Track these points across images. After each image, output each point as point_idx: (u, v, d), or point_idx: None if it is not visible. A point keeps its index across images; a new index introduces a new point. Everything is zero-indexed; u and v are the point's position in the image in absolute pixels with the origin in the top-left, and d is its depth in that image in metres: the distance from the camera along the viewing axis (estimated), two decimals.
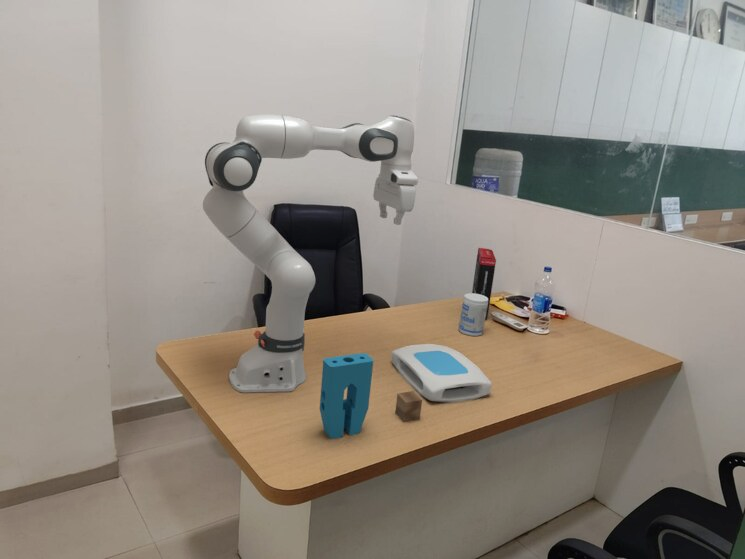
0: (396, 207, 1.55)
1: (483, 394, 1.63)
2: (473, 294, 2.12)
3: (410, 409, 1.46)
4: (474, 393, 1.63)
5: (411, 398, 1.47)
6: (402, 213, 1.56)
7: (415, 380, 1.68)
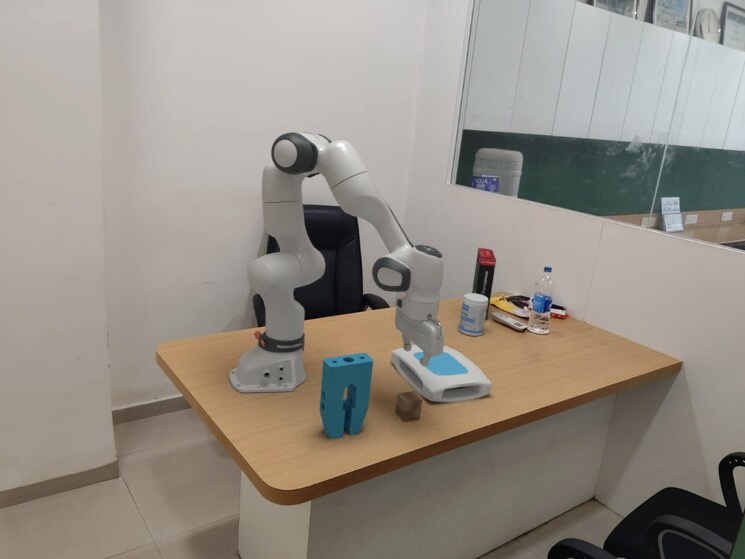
0: None
1: (483, 394, 1.63)
2: (473, 294, 2.12)
3: (410, 409, 1.46)
4: (474, 393, 1.63)
5: (411, 398, 1.47)
6: None
7: (415, 380, 1.68)
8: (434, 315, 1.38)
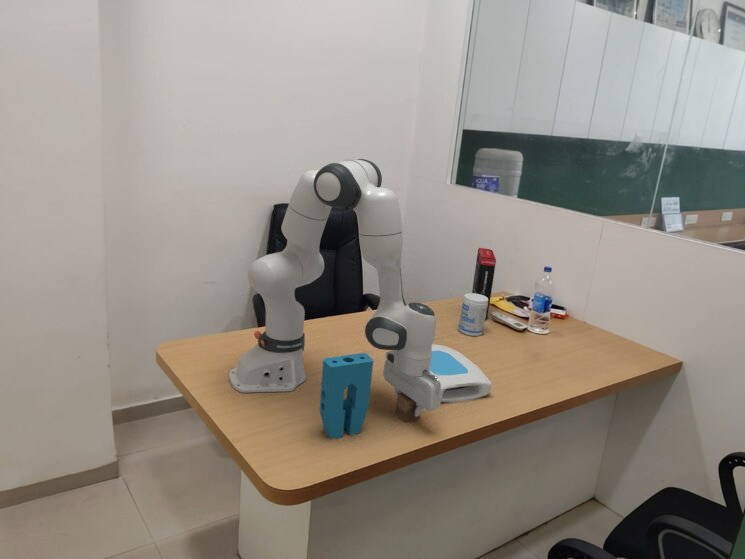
0: None
1: (483, 394, 1.63)
2: (473, 294, 2.12)
3: (410, 409, 1.46)
4: (474, 393, 1.63)
5: None
6: None
7: None
8: (428, 369, 1.43)
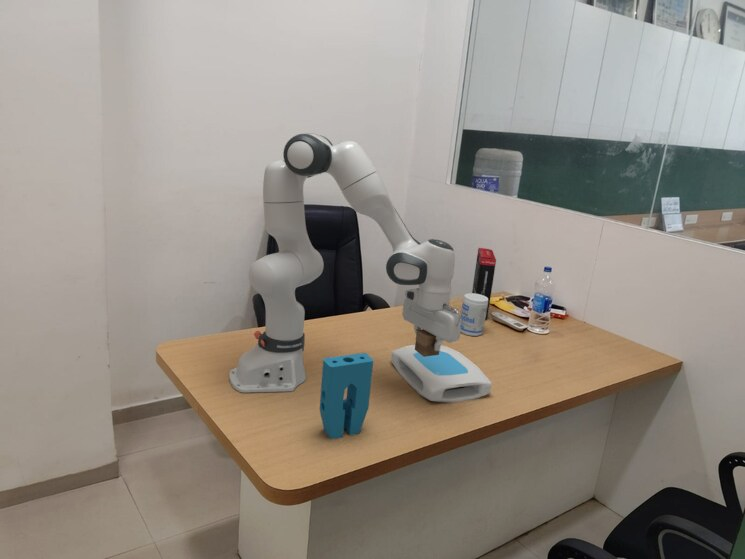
0: None
1: (483, 394, 1.63)
2: (473, 294, 2.12)
3: (430, 344, 1.50)
4: (474, 393, 1.63)
5: (430, 333, 1.52)
6: None
7: (415, 380, 1.68)
8: (447, 304, 1.48)
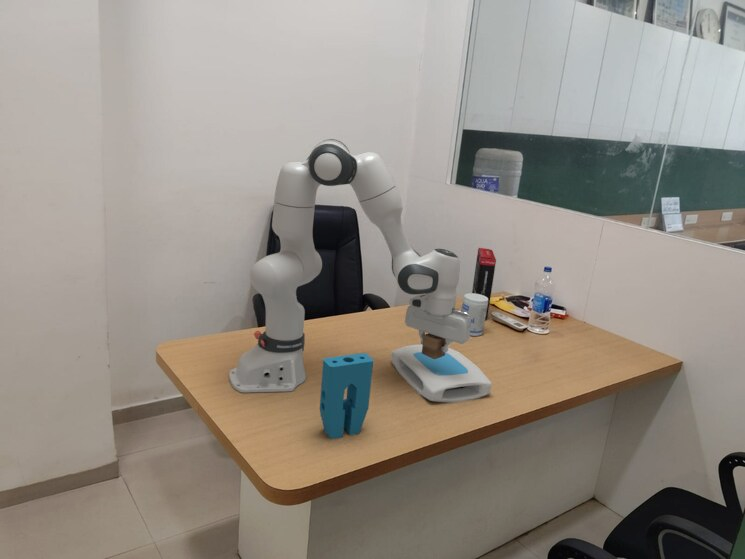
0: None
1: (483, 394, 1.63)
2: (473, 294, 2.12)
3: (439, 347, 1.60)
4: (474, 393, 1.63)
5: (437, 336, 1.61)
6: None
7: (415, 380, 1.68)
8: (454, 308, 1.58)
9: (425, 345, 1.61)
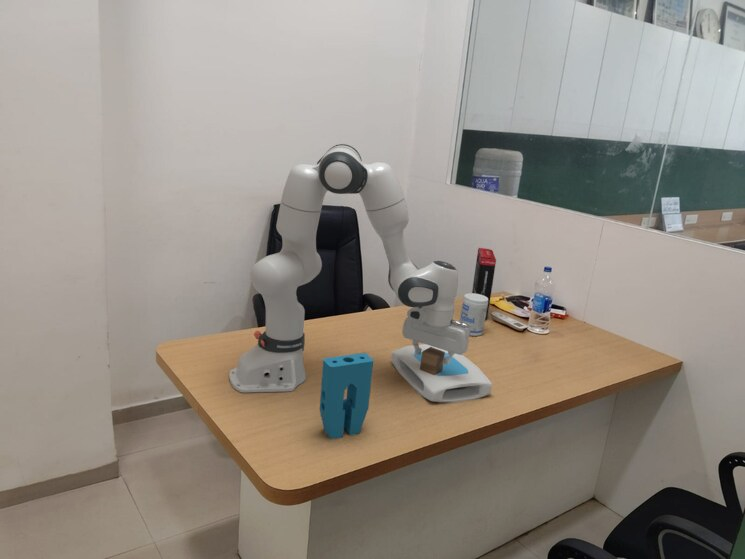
0: None
1: (483, 394, 1.63)
2: (473, 294, 2.12)
3: (438, 362, 1.62)
4: (475, 393, 1.63)
5: (436, 352, 1.63)
6: None
7: (415, 380, 1.68)
8: (452, 319, 1.59)
9: (424, 361, 1.63)
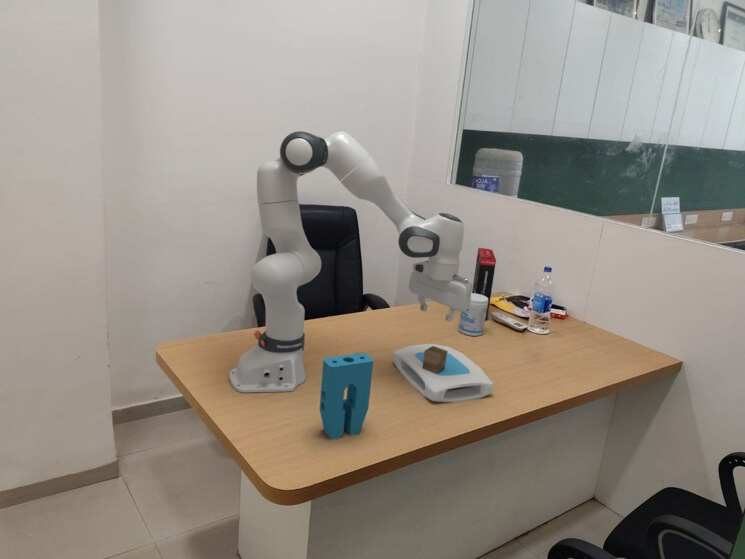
0: None
1: (485, 394, 1.63)
2: (473, 294, 2.12)
3: (440, 361, 1.63)
4: (476, 393, 1.63)
5: (438, 351, 1.64)
6: None
7: (417, 380, 1.68)
8: None
9: (426, 360, 1.64)
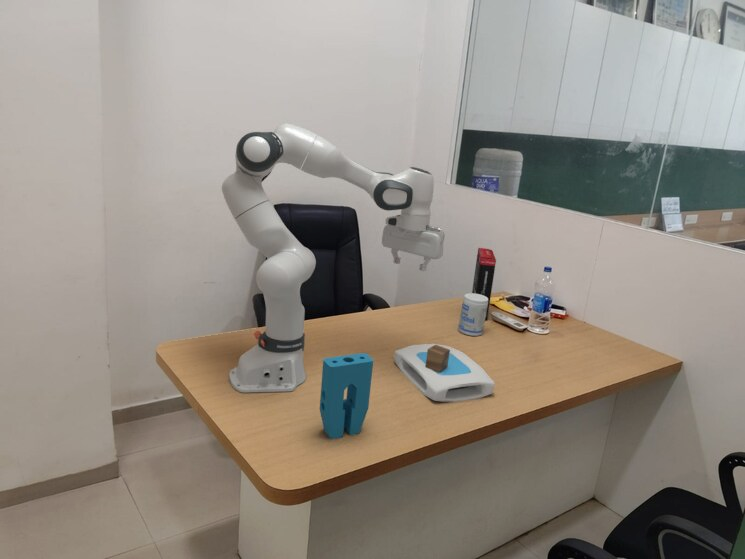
0: None
1: (486, 394, 1.63)
2: (473, 294, 2.12)
3: (443, 360, 1.64)
4: (477, 393, 1.64)
5: (441, 350, 1.65)
6: None
7: (418, 380, 1.68)
8: (428, 226, 1.63)
9: (429, 359, 1.65)
